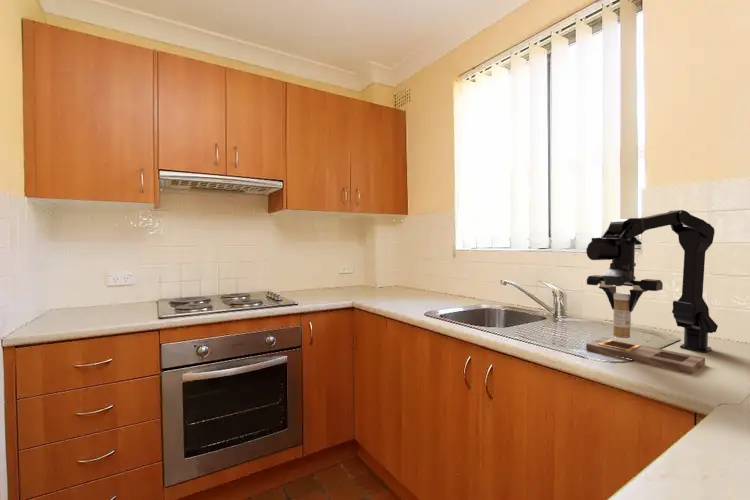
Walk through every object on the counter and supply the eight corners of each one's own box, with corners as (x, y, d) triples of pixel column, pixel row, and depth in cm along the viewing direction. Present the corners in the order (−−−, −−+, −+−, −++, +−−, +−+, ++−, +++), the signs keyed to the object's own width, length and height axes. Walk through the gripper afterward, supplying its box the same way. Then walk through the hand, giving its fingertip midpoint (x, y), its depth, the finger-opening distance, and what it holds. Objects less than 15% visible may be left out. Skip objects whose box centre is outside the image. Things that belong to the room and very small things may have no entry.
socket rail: (603, 343, 124) (603, 336, 124) (704, 364, 103) (705, 356, 103) (586, 350, 117) (586, 342, 117) (691, 374, 96) (691, 365, 96)
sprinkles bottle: (623, 334, 117) (624, 291, 116) (634, 338, 112) (635, 294, 112) (609, 334, 116) (610, 292, 116) (619, 338, 112) (620, 294, 111)
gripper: (578, 259, 116) (578, 309, 117) (649, 262, 101) (648, 319, 102) (594, 258, 123) (594, 305, 123) (663, 260, 108) (662, 314, 108)
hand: (622, 310), depth 114 cm, fingers closed on sprinkles bottle, 4 cm apart
